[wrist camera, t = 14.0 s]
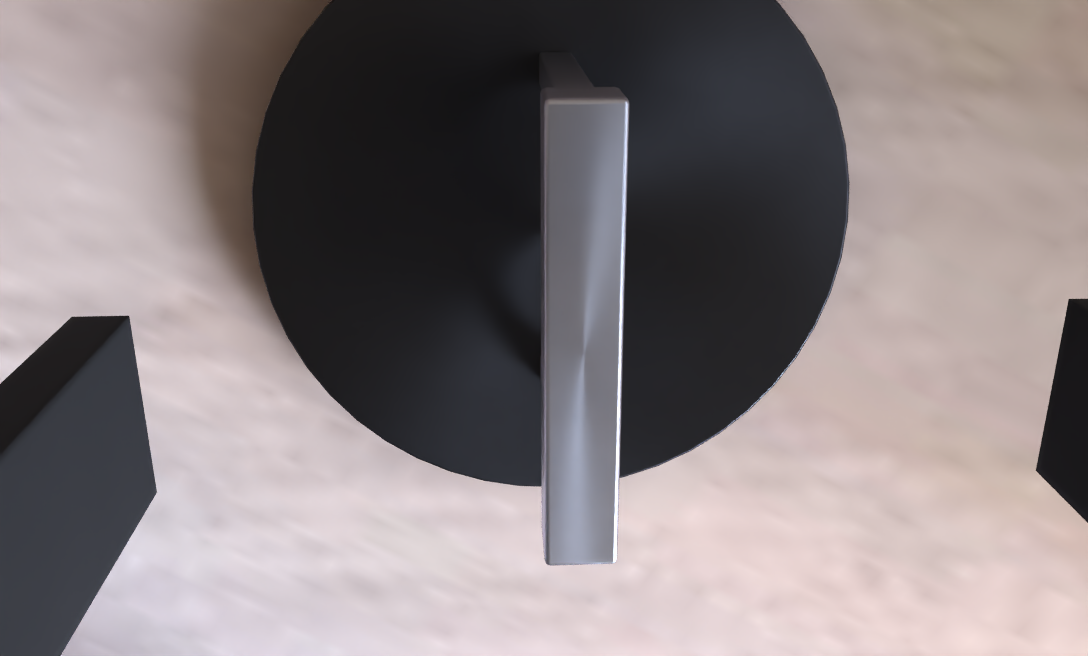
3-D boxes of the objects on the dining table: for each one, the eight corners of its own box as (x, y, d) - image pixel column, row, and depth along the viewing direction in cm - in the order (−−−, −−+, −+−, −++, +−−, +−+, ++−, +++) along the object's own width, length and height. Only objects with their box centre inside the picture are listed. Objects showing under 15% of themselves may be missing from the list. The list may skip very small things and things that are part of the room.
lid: (289, 472, 27) (202, 710, 19) (231, -95, 22) (80, -111, 14) (807, 458, 28) (944, 683, 19) (863, -96, 23) (1076, -110, 14)
